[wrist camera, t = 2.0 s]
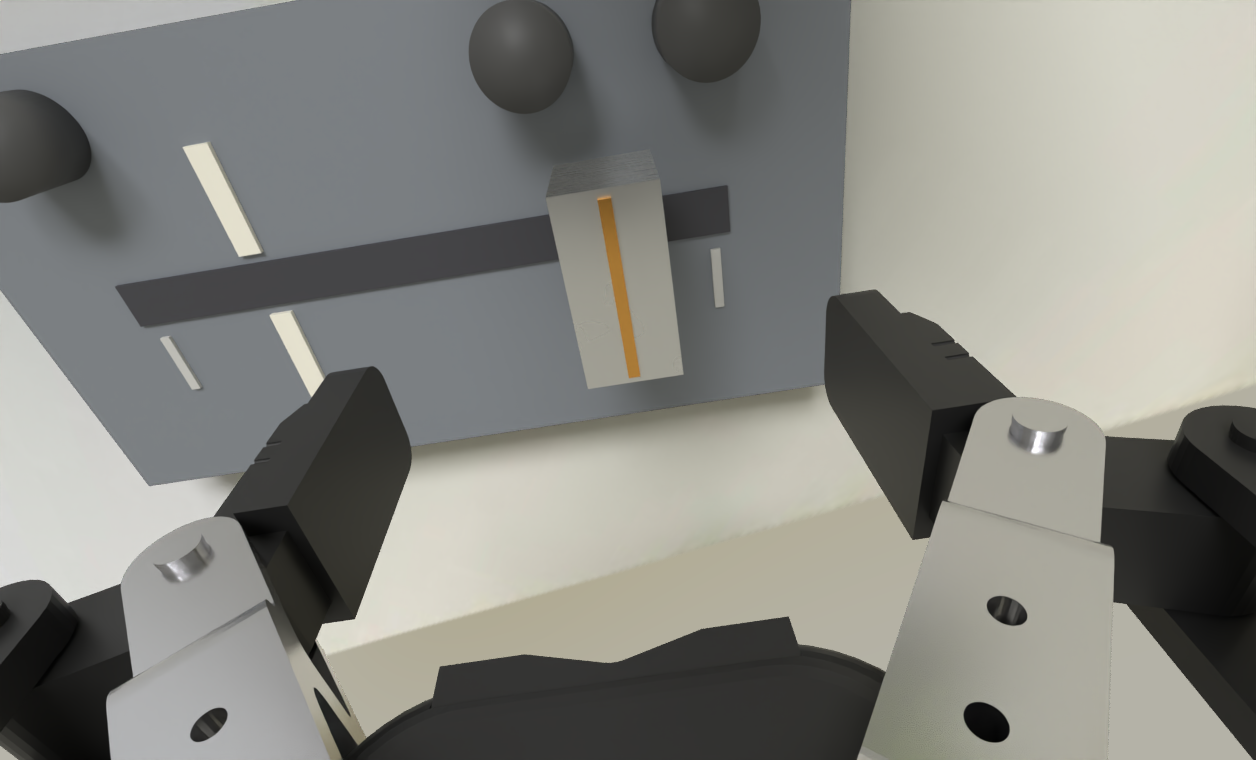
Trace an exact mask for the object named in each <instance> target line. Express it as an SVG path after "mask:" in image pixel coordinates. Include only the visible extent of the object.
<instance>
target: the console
mask: <svg viewBox="0 0 1256 760" xmlns="http://www.w3.org/2000/svg"><path fill="white" fill-rule="evenodd" d="M850 12H851V0H296V1H290V2H285V3H279V4H274V5H268V6H263V7H257V8H252V9H246V10H241V11H235V12H230V13H224V14H219V15H213V16H208V17H202V18H197V19H191V20H186V21H180V22H175V23H169V24H164V25H158V26H153V27H147V28H142V29H136V30H131V31H125V32H120V33H114V34H109V35H103V36H98V37H92V38H87V39H81V40H76V41H70V42H65V43H59V44H54V45H48V46H43V47H37V48H32V49H26V50H21V51H15V52H10V53H4V54H0V290H1V291H2V293H3V294H4V295H5V297H6V298H7V299H8V301H9V302H10V303H11V305H12V306H13V307H14V309H15V310H16V311H17V313H18V314H19V315H20V316H21V318H22V319H23V320H24V322H25V323H26V324H27V326H28V327H29V328H30V330H31V331H32V332H33V334H34V335H35V336H36V338H37V339H38V340H39V342H40V343H41V344H42V345H43V347H44V348H45V349H46V351H47V352H48V353H49V355H50V356H51V357H52V359H53V360H54V361H55V363H56V364H57V365H58V367H59V368H60V369H61V371H62V372H63V373H64V375H65V376H66V377H67V378H68V380H69V381H70V382H71V384H72V385H73V386H74V388H75V389H76V390H77V392H78V393H79V394H80V396H81V397H82V398H83V400H84V401H85V402H86V404H87V405H88V406H89V407H90V409H91V410H92V411H93V413H94V414H95V415H96V417H97V418H98V419H99V421H100V422H101V423H102V425H103V426H104V427H105V429H106V430H107V431H108V433H109V434H110V435H111V436H112V438H113V439H114V440H115V442H116V443H117V444H118V446H119V447H120V448H121V450H122V451H123V452H124V454H125V455H126V456H127V458H128V459H129V460H130V462H131V463H132V464H133V466H134V467H135V468H136V469H137V471H138V472H139V473H140V475H141V476H142V477H143V479H144V480H145V481H146V483H147V484H148V485H149V486H153V485H160V484H167V483H173V482H180V481H187V480H193V479H200V478H207V477H213V476H220V475H226V474H233V473H240V472H246V471H247V469H248V468H249V466H250V465H251V464H254V459H255V458H256V457H257V455H258V454H259V452H260V451H261V450H262V448H263V447H266V443H267V441H268V440H269V438H270V437H271V436H272V434H273V433H274V431H275V430H276V429H277V427H278V426H279V424H280V423H281V422H282V421H284V420H285V419H286V418H287V417H289V416H290V415H291V414H292V413H294V412H295V411H296V410H297V409H299V408H300V407H301V406H302V405H304V404H308V402H309V401H310V399H311V398H312V396H313V395H314V393H315V392H316V390H317V389H318V387H319V386H320V384H321V383H322V382H323V380H324V379H325V377H326V376H327V375H328V374H329V373H331V372H337V371H344V370H350V369H357V368H363V367H370V366H374V367H376V368H377V369H378V370H379V371H380V372H381V374H382V375H383V377H384V379H385V382H386V384H387V386H388V389H389V391H390V394H391V396H392V398H393V401H394V403H395V406H396V408H397V410H398V413H399V415H400V418H401V420H402V422H403V425H404V427H405V430H406V432H407V435H408V437H409V441H410V446H411V447H412V446H419V445H426V444H432V443H439V442H446V441H452V440H459V439H466V438H472V437H479V436H485V435H492V434H499V433H505V432H512V431H519V430H525V429H532V428H539V427H545V426H552V425H558V424H565V423H572V422H578V421H585V420H592V419H598V418H605V417H612V416H618V415H625V414H632V413H638V412H645V411H651V410H658V409H665V408H671V407H678V406H685V405H691V404H698V403H705V402H711V401H718V400H725V399H731V398H738V397H744V396H751V395H758V394H764V393H771V392H778V391H784V390H791V389H798V388H804V387H811V386H817V385H824V384H825V381H824V359H825V331H826V308H827V303H828V300H829V298H830V297H831V296H835V295H840V277H841V251H842V224H843V198H844V171H845V145H846V118H847V92H848V65H849V39H850ZM643 150H650V153H651V155H652V158H653V161H654V164H655V167H656V169H657V172H658V175H659V178H660V183H661V191H662V200H663V208H664V216H665V225H666V233H667V241H668V250H669V258H670V266H671V275H672V283H673V291H674V300H675V308H676V316H677V325H678V333H679V341H680V349H681V358H682V366H683V374H684V375H678V376H671V377H664V378H658V379H651V380H645V381H638V382H632V383H625V384H619V385H612V386H606V387H599V388H592V389H588V387H587V383H586V378H585V374H584V369H583V365H582V360H581V356H580V351H579V347H578V342H577V338H576V333H575V329H574V324H573V320H572V315H571V310H570V306H569V301H568V297H567V292H566V288H565V283H564V279H563V274H562V270H561V265H560V261H559V256H558V252H557V247H556V243H555V238H554V234H553V229H552V225H551V220H550V216H549V211H548V207H547V202H546V194H547V190H548V186H549V181H550V177H551V173H552V169H553V165H559V164H565V163H571V162H577V161H583V160H589V159H595V158H601V157H607V156H613V155H619V154H625V153H631V152H637V151H643Z"/></svg>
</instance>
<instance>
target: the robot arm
mask: <svg viewBox="0 0 1256 760" xmlns="http://www.w3.org/2000/svg"><path fill="white" fill-rule="evenodd" d="M824 381H825V388H826V393H827V396H828V400H829V402H830V405H831V407H832V408H833V410H834V412H835V413H836V415H837V417H838V418H839V420H840V422H841V423H842V425H843V427H844V428H845V430H846V431H847V433H848V435H849V436H850V438H851V440H852V441H853V443H854V445H855V446H856V448H857V450H858V451H859V453H860V454H861V456H862V458H863V459H864V461H865V463H866V464H867V466H868V468H869V469H870V471H871V473H872V474H873V476H874V477H875V479H876V481H877V482H878V484H879V486H880V487H881V489H882V491H883V492H884V494H885V495H886V497H887V499H888V500H889V502H890V503H891V505H892V507H893V509H894V510H895V512H896V513H897V515H898V517H899V518H900V520H901V522H902V523H903V525H904V527H905V528H906V530H907V532H908V533H909V535H910V537H911V538H912V540H915V539H922V538H929V537H930V539H929V542H928V545H927V548H926V551H925V554H924V557H923V560H922V563H921V566H920V570H919V572H918V576H917V579H916V582H915V585H914V588H913V591H912V594H911V597H910V600H909V603H908V606H907V609H906V612H905V615H904V618H903V621H902V624H901V627H900V630H899V634H898V637H897V640H896V643H895V646H894V649H893V652H892V655H891V658H890V661H889V664H888V667H887V670H886V672H885V671H883V670H881V669H880V668H878V667H875V666H873V665H871V664H869V663H866V662H864V661H862V660H860V659H857V658H855V657H852V656H848V655H846V654H842V653H840V652H836V651H833V650H828V649H823V648H819V647H814V646H808V645H799V644H798V643H797V640H796V637H795V634H794V631H793V628H792V626H791V622H790V619H789V617H782V618H776V619H768V620H762V621H754V622H747V623H740V624H734V625H727V626H720V627H713V628H706V629H701V630H698V631H696V632H693V633H691V634H688V635H686V636H683V637H681V638H678V639H676V640H674V641H671V642H668V643H666V644H663V645H661V646H658V647H656V648H653V649H651V650H648V651H646V652H643V653H641V654H638V655H635V656H633V657H630V658H628V659H625V660H623V661H619V662H614V663H600V662H591V661H582V660H572V659H563V658H553V657H543V656H533V655H518V656H511V657H504V658H497V659H490V660H483V661H477V662H469V663H462V664H455V665H448V666H441V667H440V669H439V673H438V677H437V682H436V687H435V691H434V696H433V698H432V699H429V700H427V701H424V702H422V703H420V704H418V705H416V706H415V707H412V708H411V709H409V710H407V711H405V712H403V713H401V714H400V715H398V716H397V717H395V718H394V719H392V720H391V721H389V722H388V723H386V724H384V725H383V726H382V727H380V728H379V729H378V730H376V732H374V733H373V734H371V735H370V736H369V737H367V738H366V736H365V734H364V732H363V730H362V728H361V726H360V724H359V722H358V720H357V718H356V716H355V714H354V712H353V709H352V708H351V705H350V703H349V701H348V699H347V697H346V695H345V693H344V691H343V689H342V687H341V685H340V683H339V681H338V679H337V677H336V675H335V672H334V671H333V668H332V667H331V664H330V662H329V660H328V658H327V656H326V654H325V652H324V650H323V649H322V647H321V646H320V644H319V643H318V641H317V640H316V638H317V635H318V633H319V631H320V628H321V626H322V624H325V623H332V622H338V621H345V620H352V619H355V617H356V615H357V612H358V609H359V607H360V604H361V601H362V598H363V596H364V593H365V590H366V588H367V585H368V582H369V579H370V577H371V574H372V571H373V568H374V566H375V563H376V560H377V558H378V555H379V552H380V549H381V547H382V544H383V541H384V539H385V536H386V533H387V530H388V528H389V525H390V522H391V520H392V517H393V514H394V511H395V509H396V506H397V503H398V500H399V498H400V495H401V492H402V490H403V487H404V484H405V481H406V479H407V476H408V473H409V470H410V467H411V446H410V441H409V437H408V435H407V432H406V430H405V427H404V425H403V422H402V420H401V418H400V415H399V413H398V410H397V408H396V406H395V403H394V401H393V398H392V396H391V394H390V391H389V389H388V386H387V384H386V382H385V379H384V377H383V375H382V374H381V372H380V371H379V370H378V369H377V368H376V367H374V366H370V367H363V368H357V369H350V370H344V371H337V372H331V373H329V374H328V375H327V376H326V377H325V379H324V380H323V382H322V383H321V384H320V386H319V387H318V389H317V390H316V392H315V393H314V395H313V396H312V398H311V399H310V401H309V402H308V404H304V405H302V406H301V407H300V408H299V409H297V410H296V411H295V412H294V413H292V414H291V415H290V416H289V417H287V418H286V419H285V420H284V421H282V422H281V423H280V424H279V426H278V427H277V429H276V430H275V431H274V433H273V434H272V436H271V437H270V438H269V440H268V441H267V443H266V447H263V448H262V450H261V451H260V452H259V454H258V455H257V457H256V458H255V459H254V464H251V465H250V466H249V468H248V469H247V471H246V472H245V473H244V475H243V476H242V478H241V479H240V480H239V482H238V483H237V485H236V486H235V487H234V489H233V490H232V492H231V493H230V494H229V496H228V497H227V499H226V500H225V501H224V503H223V504H222V506H221V507H220V508H219V510H218V511H217V513H216V514H215V515H214V517H210V518H205V519H201V520H197V521H194V522H192V523H189V524H186V525H184V526H182V527H180V528H177V529H175V530H173V531H172V532H170V533H168V534H166V535H165V536H163V537H161V538H160V539H158V540H157V541H155V542H154V543H153V544H151V545H150V546H149V547H147V548H146V549H145V550H144V551H143V552H142V553H141V554H139V556H138V557H137V558H136V559H135V560H134V561H133V562H132V563H131V565H130V566H129V567H128V569H127V570H126V572H125V574H124V576H123V578H122V581H121V584H119V585H116V586H114V587H111V588H108V589H105V590H103V591H100V592H97V593H94V594H92V595H89V596H86V597H83V598H81V599H78V600H75V601H72V602H70V603H67V602H66V601H65V600H64V599H63V598H62V597H61V596H60V595H59V594H58V593H57V592H56V591H55V590H54V589H53V588H52V587H51V586H50V585H49V584H48V583H46V582H45V581H41V580H27V581H21V582H17V583H13V584H10V585H7V586H4V587H1V588H0V746H2V747H3V748H4V749H5V750H7V751H8V752H9V753H11V754H12V755H13V756H14V757H16V758H17V759H18V760H1108V736H1109V708H1110V707H1109V706H1110V678H1111V677H1110V676H1111V649H1112V618H1113V602H1116V603H1123V604H1127V605H1128V607H1129V608H1130V609H1131V610H1132V612H1133V613H1134V614H1135V615H1136V617H1137V618H1138V619H1139V620H1140V621H1141V623H1142V624H1143V625H1144V626H1145V627H1146V629H1147V630H1148V631H1149V632H1150V634H1151V635H1152V636H1153V637H1154V639H1155V640H1156V641H1157V642H1158V643H1159V645H1160V646H1161V647H1162V648H1163V649H1164V651H1165V652H1166V653H1167V655H1168V656H1169V657H1170V658H1171V659H1172V661H1173V662H1174V663H1175V664H1176V666H1177V667H1178V668H1179V669H1180V670H1181V672H1182V673H1183V674H1184V675H1185V677H1186V678H1187V679H1188V680H1189V681H1190V683H1191V684H1192V685H1193V686H1194V687H1195V689H1196V690H1197V691H1198V692H1199V694H1200V695H1201V696H1202V697H1203V699H1204V700H1205V701H1206V702H1207V703H1208V705H1209V706H1210V707H1211V708H1212V710H1213V711H1214V712H1215V713H1216V715H1217V716H1218V717H1219V718H1220V719H1221V721H1222V722H1223V723H1224V724H1225V726H1226V727H1227V728H1228V729H1229V730H1230V732H1231V733H1232V734H1233V735H1234V737H1235V738H1236V739H1237V740H1238V741H1239V743H1240V744H1241V745H1242V746H1243V748H1244V749H1245V750H1246V751H1247V753H1248V754H1249V755H1250V756H1251V757H1252V759H1253V760H1256V409H1255V408H1250V407H1241V406H1210V407H1205V408H1200V409H1197V410H1194V411H1192V412H1191V413H1189V414H1188V415H1187V416H1186V417H1185V418H1184V419H1183V422H1182V424H1181V426H1180V429H1179V431H1178V434H1177V436H1176V438H1175V440H1158V439H1140V438H1123V437H1109V436H1104V433H1103V431H1102V430H1101V428H1100V427H1099V426H1098V425H1097V424H1096V423H1095V422H1094V421H1093V420H1092V419H1090V418H1089V417H1087V416H1086V415H1084V414H1083V413H1081V412H1079V411H1077V410H1075V409H1073V408H1070V407H1068V406H1065V405H1063V404H1059V403H1056V402H1053V401H1048V400H1044V399H1037V398H1028V397H1016V396H1015V395H1014V394H1013V393H1012V392H1011V391H1010V390H1008V389H1007V388H1006V387H1005V386H1004V385H1003V384H1002V383H1001V382H1000V381H999V380H998V379H996V378H995V377H994V376H993V375H992V374H991V373H990V372H989V371H988V370H987V369H986V368H984V367H983V366H982V365H981V364H980V363H979V362H978V361H977V360H976V359H975V358H974V357H969V353H968V352H967V351H966V350H965V349H964V348H963V347H962V346H961V345H959V344H958V343H955V342H954V339H953V338H952V337H951V336H950V335H949V334H947V333H946V332H945V331H944V330H943V329H942V328H941V327H940V326H939V325H938V324H936V323H934V322H931V321H929V320H927V319H925V318H922V317H920V316H918V315H915V314H913V313H911V312H908V313H900V312H899V311H898V310H897V309H896V308H895V307H894V306H893V305H892V304H891V303H890V302H889V301H888V300H887V299H886V298H885V297H883V296H882V295H881V294H880V293H879V292H878V291H877V290H868V291H861V292H855V293H848V294H842V295H835V296H831V297H830V298H829V300H828V303H827V308H826V331H825V359H824Z"/></svg>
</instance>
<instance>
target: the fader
mask: <svg viewBox="0 0 1256 760" xmlns="http://www.w3.org/2000/svg"><path fill="white" fill-rule="evenodd" d="M546 202H547V207H548V211H549V216H550V220H551V225H552V229H553V234H554V238H555V243H556V247H557V252H558V256H559V261H560V265H561V270H562V274H563V279H564V283H565V288H566V292H567V297H568V301H569V306H570V310H571V315H572V320H573V324H574V329H575V333H576V338H577V342H578V347H579V351H580V356H581V360H582V365H583V369H584V374H585V378H586V383H587V387H588V389H592V388H599V387H606V386H612V385H619V384H625V383H632V382H638V381H645V380H651V379H658V378H664V377H671V376H678V375H684V374H683V366H682V358H681V349H680V341H679V333H678V325H677V316H676V308H675V300H674V291H673V283H672V275H671V266H670V258H669V250H668V241H667V233H666V225H665V216H664V208H663V200H662V191H661V183H660V178H659V175H658V172H657V169H656V167H655V164H654V161H653V158H652V155H651V153H650V150H643V151H637V152H631V153H625V154H619V155H613V156H607V157H601V158H595V159H589V160H583V161H577V162H571V163H565V164H559V165H553V169H552V173H551V177H550V181H549V186H548V190H547V194H546Z"/></svg>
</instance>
